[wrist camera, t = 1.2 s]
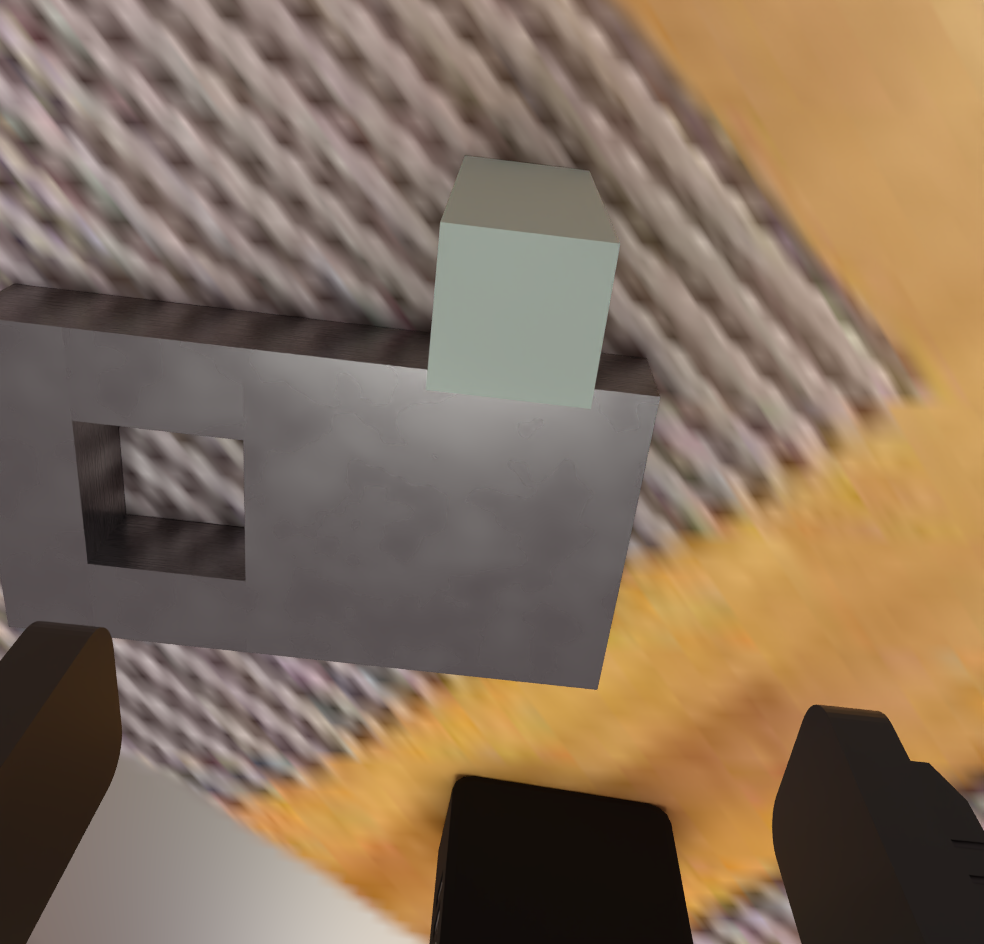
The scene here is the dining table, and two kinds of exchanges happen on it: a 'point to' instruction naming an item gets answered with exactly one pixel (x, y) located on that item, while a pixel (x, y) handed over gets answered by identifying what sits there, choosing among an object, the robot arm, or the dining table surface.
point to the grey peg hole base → (313, 492)
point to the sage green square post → (521, 284)
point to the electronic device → (555, 869)
